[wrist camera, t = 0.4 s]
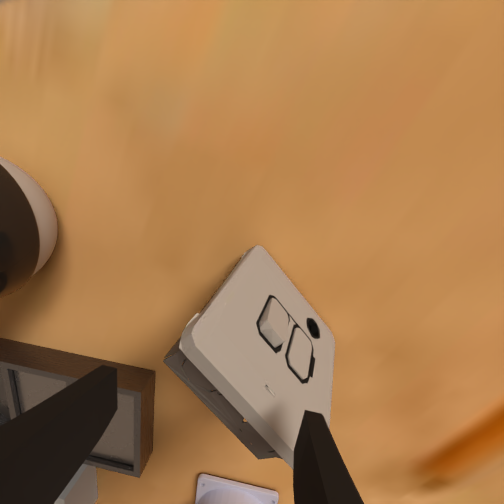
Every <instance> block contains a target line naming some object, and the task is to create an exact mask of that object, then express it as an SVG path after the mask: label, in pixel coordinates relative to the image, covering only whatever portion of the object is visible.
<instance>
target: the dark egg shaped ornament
mask: <svg viewBox="0 0 504 504" xmlns="http://www.w3.org/2000/svg"><path fill="white" fill-rule="evenodd" d="M57 235H58V224H57V218H56V214H55V211H54V208H53V205H52V203H51V201H50V199H49V198H48V196H47V194H46V193H45V192H44V190H43V189H42V188H41V186H40V185H39V184H38V183H37V182H36V181H35V180H34V179H33V178H32V177H31V176H30V175H29V174H27V173H26V172H25V171H24V170H22V169H21V168H19V167H18V166H16V165H15V164H13V163H11V162H10V161H8V160H6V159H4V158H2V157H0V298H2V297H4V296H6V295H9V294H11V293H13V292H15V291H17V290H18V289H20V288H21V287H22V286H24V285H25V284H26V283H27V282H28V280H29V279H30V278H31V276H33V275H34V274H35V273H36V272H37V271H39V270H40V269H41V268H42V267H43V265H44V264H45V263H46V262H47V261H48V259H49V258H50V256H51V254H52V252H53V250H54V248H55V245H56V241H57Z"/></svg>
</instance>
